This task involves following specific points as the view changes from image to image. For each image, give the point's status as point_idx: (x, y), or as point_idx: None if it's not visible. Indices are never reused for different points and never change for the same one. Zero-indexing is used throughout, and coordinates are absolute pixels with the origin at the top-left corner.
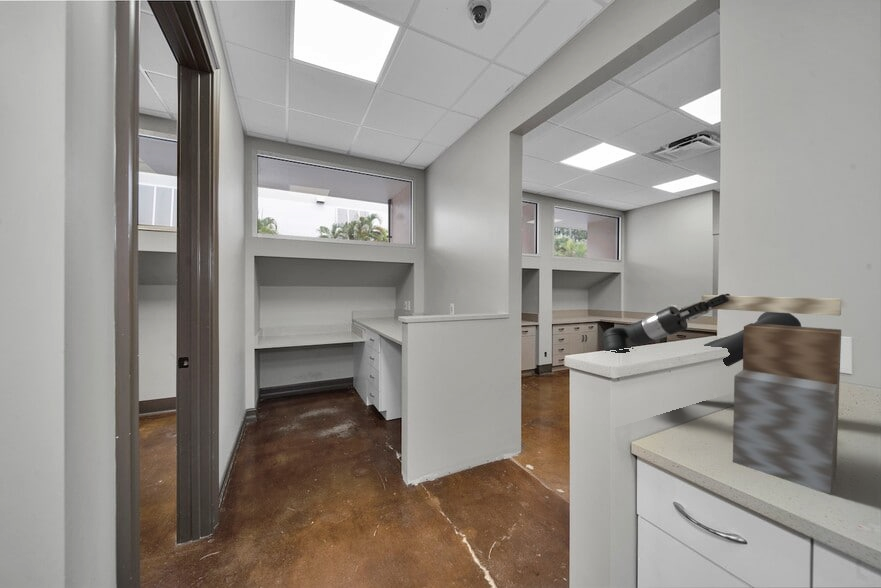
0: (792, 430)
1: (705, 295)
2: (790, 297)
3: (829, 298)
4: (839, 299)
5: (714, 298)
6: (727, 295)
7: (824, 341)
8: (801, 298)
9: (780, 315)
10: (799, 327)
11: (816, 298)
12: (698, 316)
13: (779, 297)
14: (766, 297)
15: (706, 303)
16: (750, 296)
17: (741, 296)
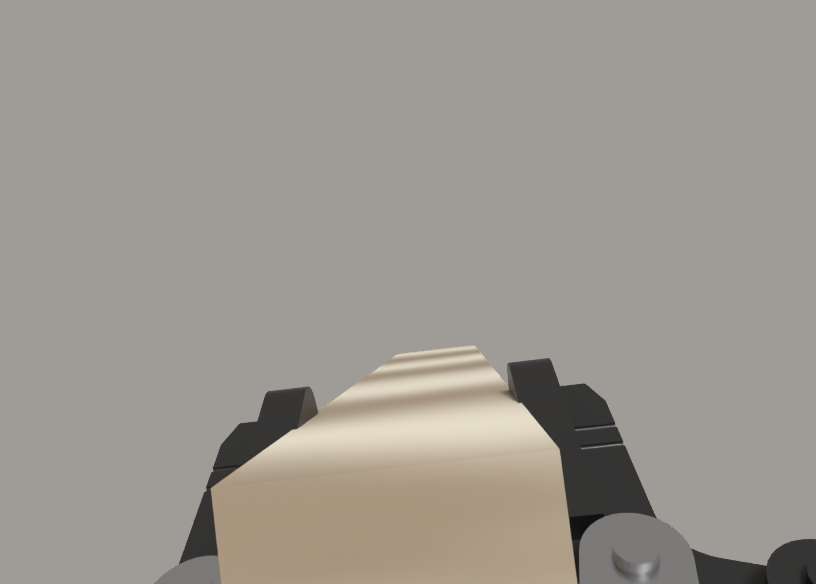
0: None
1: (403, 457)
2: (398, 364)
3: (404, 355)
4: (472, 345)
5: (578, 446)
6: (315, 413)
7: None
8: (478, 351)
9: None
10: None
11: (437, 353)
12: None
13: (434, 363)
14: (486, 362)
15: (713, 572)
16: (385, 384)
17: (433, 384)
